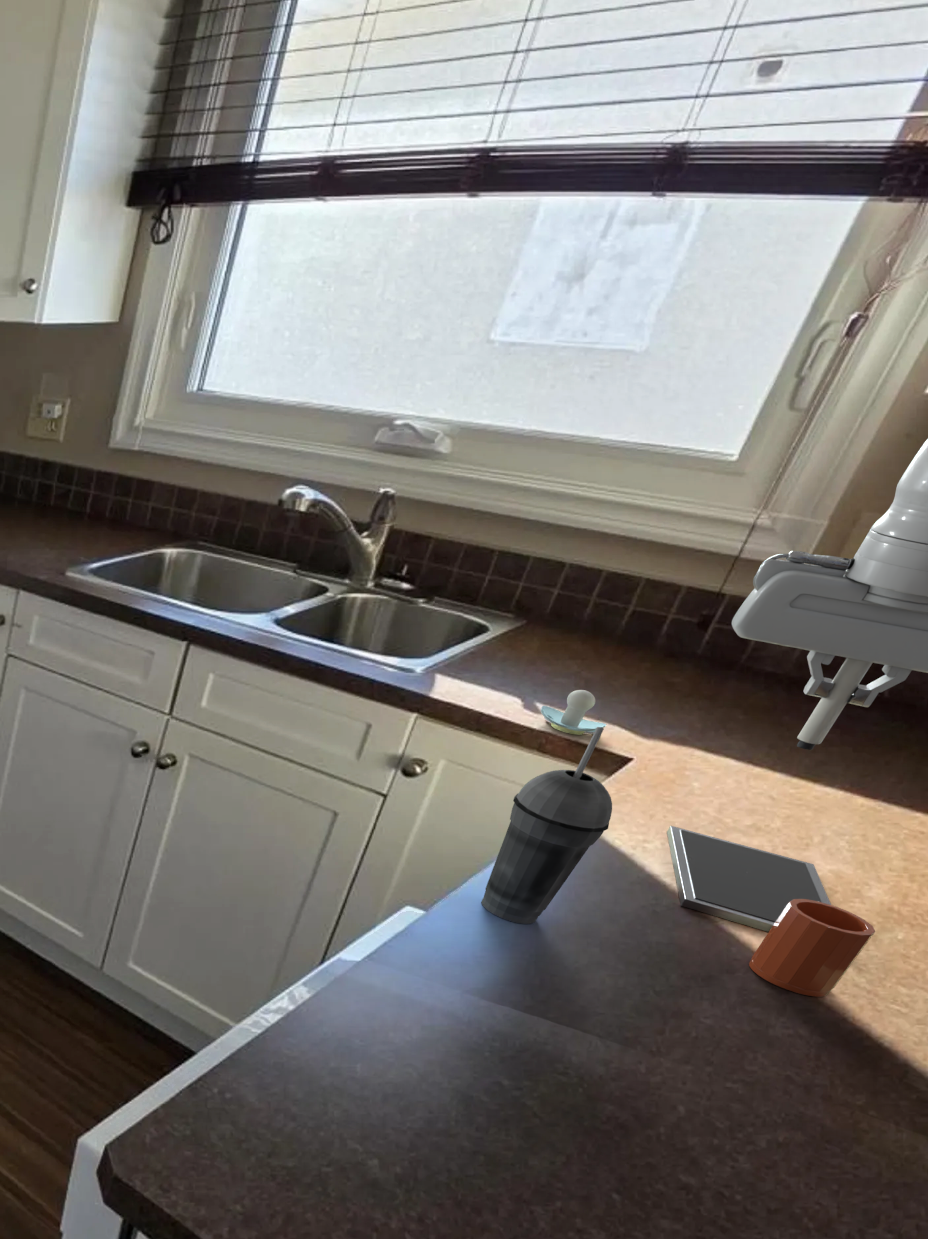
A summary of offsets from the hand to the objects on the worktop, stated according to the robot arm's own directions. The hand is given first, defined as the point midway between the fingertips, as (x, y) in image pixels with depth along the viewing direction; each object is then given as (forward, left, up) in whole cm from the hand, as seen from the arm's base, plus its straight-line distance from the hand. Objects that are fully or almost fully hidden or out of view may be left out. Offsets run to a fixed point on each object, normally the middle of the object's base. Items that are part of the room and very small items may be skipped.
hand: (835, 699), depth 105 cm
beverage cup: (+20, +32, -20) cm, 42 cm away
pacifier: (+15, -32, -20) cm, 41 cm away
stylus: (0, 0, -6) cm, 6 cm away
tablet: (0, +8, -20) cm, 21 cm away
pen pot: (-1, +27, -20) cm, 33 cm away
